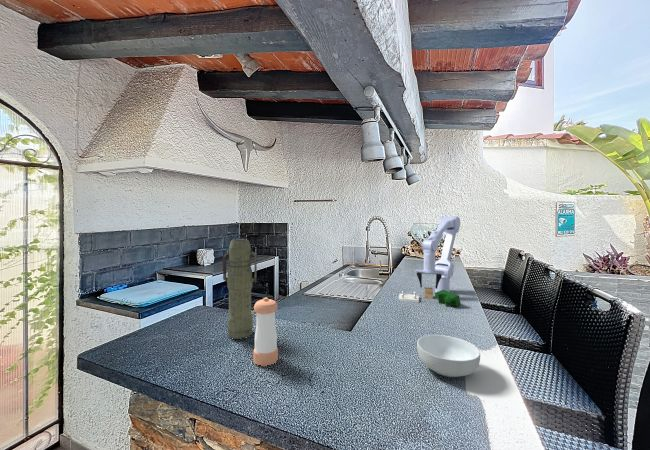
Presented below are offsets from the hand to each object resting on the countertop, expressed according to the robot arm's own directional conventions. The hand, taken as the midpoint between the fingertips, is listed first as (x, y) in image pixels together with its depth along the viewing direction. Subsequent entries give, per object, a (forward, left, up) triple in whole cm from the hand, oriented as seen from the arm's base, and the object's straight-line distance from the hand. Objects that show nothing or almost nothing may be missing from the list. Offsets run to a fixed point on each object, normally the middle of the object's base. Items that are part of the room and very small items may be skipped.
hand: (428, 287), depth 158 cm
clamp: (+10, +8, -6) cm, 14 cm away
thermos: (+73, -68, -6) cm, 100 cm away
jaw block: (0, 0, -5) cm, 5 cm away
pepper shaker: (+87, -50, -6) cm, 100 cm away
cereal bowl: (+76, +2, -6) cm, 76 cm away
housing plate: (+6, -10, -5) cm, 13 cm away
